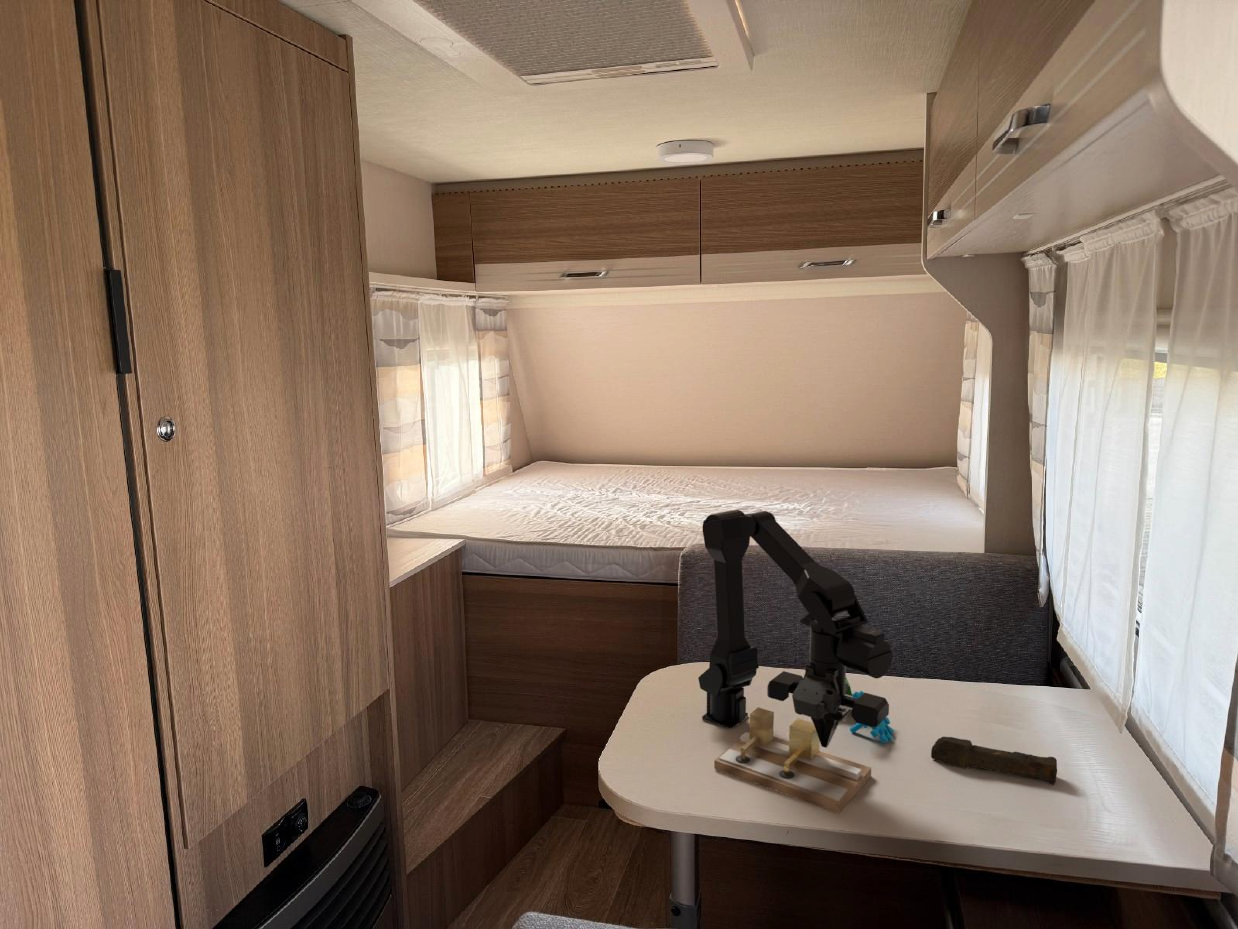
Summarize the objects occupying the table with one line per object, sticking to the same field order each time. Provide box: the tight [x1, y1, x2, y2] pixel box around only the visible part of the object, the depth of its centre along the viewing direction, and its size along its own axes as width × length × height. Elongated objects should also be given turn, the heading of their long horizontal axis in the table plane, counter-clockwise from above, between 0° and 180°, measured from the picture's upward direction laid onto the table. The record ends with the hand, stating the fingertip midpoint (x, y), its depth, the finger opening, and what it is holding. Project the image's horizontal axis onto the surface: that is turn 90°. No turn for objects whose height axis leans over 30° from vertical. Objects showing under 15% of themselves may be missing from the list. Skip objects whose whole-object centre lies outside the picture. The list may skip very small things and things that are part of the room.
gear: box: [849, 690, 894, 744], centre depth 153 cm, size 11×6×10 cm
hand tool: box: [930, 736, 1058, 786], centre depth 141 cm, size 19×4×5 cm, turn 66°
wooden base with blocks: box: [713, 707, 872, 814], centre depth 141 cm, size 22×13×8 cm, turn 53°
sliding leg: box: [784, 718, 821, 775], centre depth 140 cm, size 4×8×6 cm, turn 143°
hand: (825, 746), depth 140 cm, fingers closed
